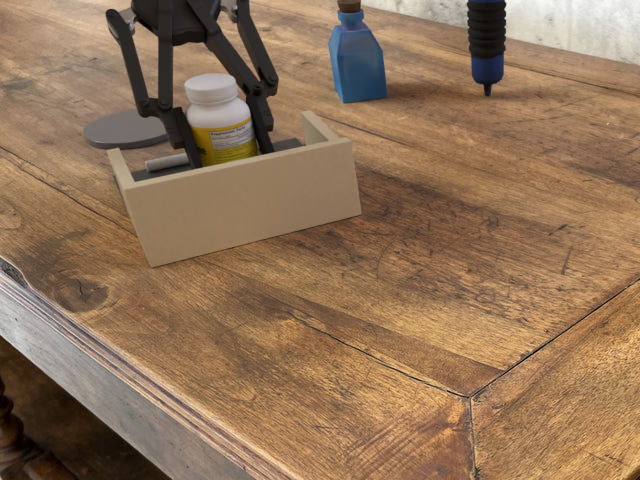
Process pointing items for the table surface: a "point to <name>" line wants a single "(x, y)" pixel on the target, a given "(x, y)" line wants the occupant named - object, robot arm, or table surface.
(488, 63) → the blue black cylinder
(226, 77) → the pill bottle
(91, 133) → the trivet
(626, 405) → the table surface
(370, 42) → the perfume bottle
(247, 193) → the shallow cardboard crate
